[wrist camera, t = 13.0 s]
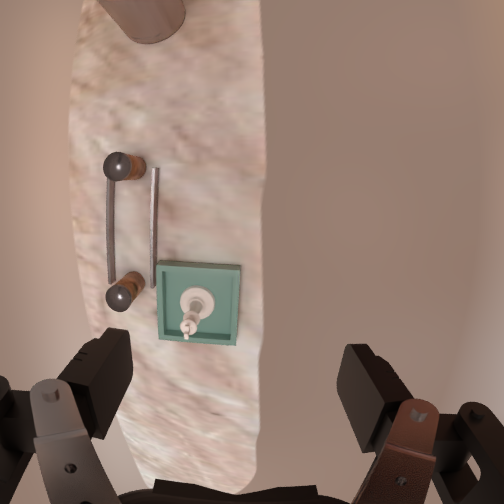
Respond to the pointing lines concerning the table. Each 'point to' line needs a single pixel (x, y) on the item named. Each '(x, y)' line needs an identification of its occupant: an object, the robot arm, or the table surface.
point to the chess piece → (195, 308)
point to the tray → (211, 277)
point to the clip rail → (115, 170)
